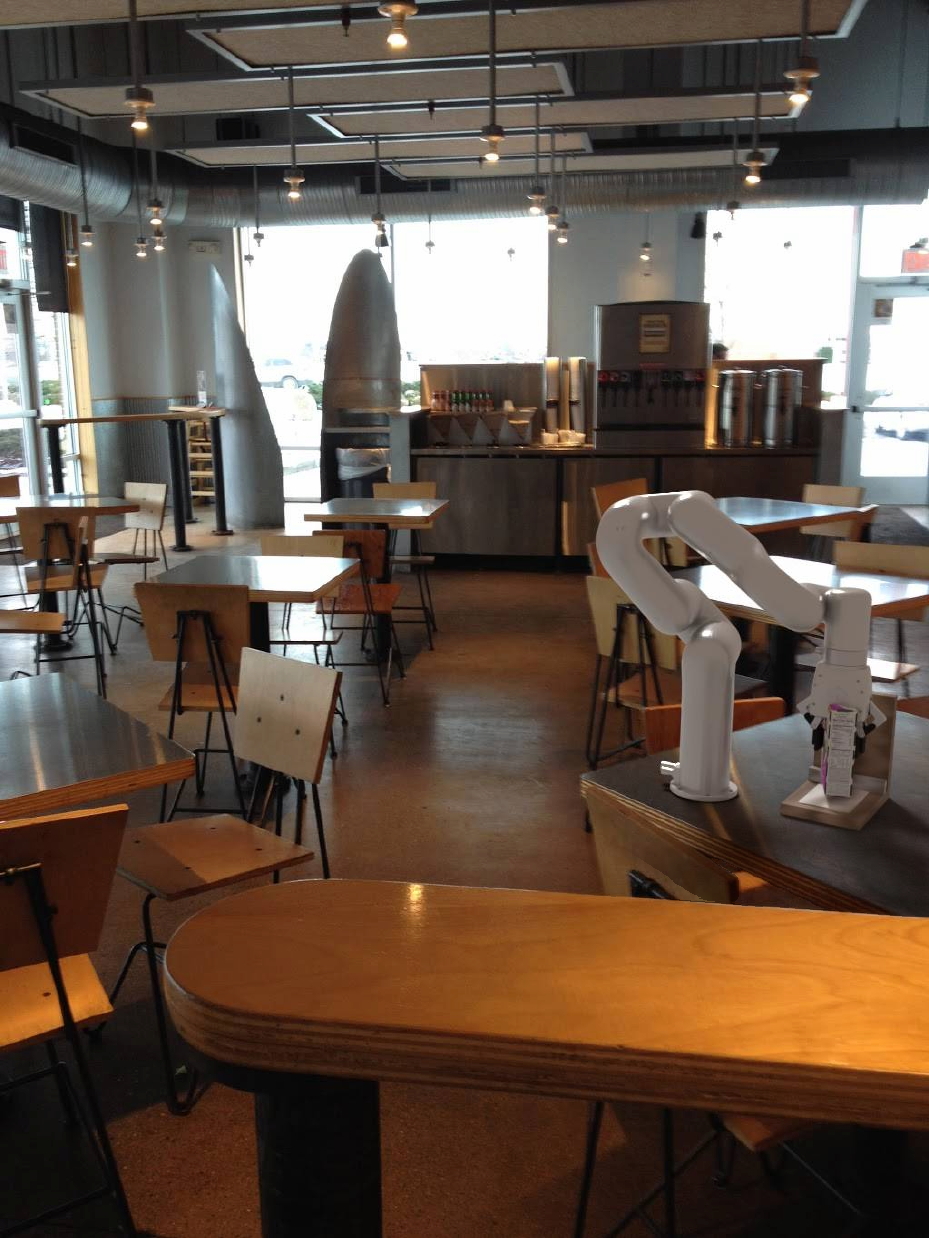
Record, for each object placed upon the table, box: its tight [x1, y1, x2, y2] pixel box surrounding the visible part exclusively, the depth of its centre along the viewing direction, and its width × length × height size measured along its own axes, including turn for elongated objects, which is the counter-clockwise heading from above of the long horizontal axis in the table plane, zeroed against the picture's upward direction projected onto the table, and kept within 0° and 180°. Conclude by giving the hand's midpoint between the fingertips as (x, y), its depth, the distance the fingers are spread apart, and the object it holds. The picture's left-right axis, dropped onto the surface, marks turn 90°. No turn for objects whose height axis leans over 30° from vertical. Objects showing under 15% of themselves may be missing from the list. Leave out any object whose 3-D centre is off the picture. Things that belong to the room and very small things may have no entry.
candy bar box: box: [820, 704, 858, 798], centre depth 201 cm, size 11×5×16 cm, turn 167°
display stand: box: [779, 690, 899, 832], centre depth 202 cm, size 14×20×20 cm
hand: (837, 751), depth 201 cm, fingers closed on candy bar box, 6 cm apart
